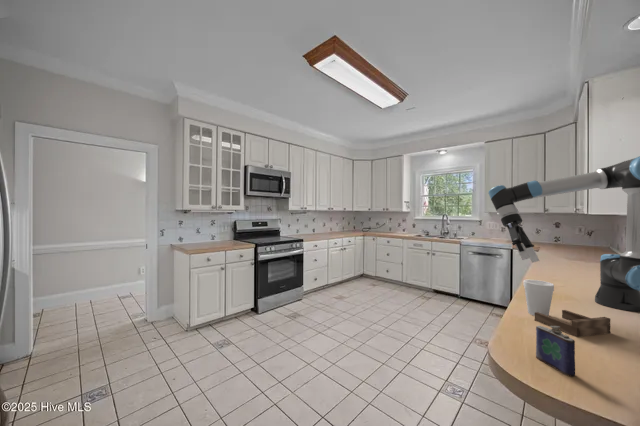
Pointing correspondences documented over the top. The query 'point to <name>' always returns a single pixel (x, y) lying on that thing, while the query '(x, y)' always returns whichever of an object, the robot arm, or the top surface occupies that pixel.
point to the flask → (556, 349)
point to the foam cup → (538, 296)
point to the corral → (577, 324)
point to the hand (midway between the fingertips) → (531, 260)
